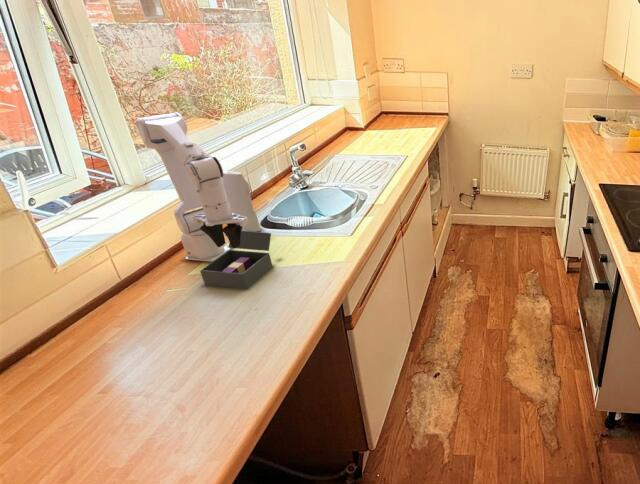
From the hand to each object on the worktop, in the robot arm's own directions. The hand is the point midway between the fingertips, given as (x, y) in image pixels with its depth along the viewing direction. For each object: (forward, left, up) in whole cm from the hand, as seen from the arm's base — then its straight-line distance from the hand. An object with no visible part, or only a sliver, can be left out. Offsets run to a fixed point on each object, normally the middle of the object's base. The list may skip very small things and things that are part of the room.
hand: (229, 246), depth 111 cm
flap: (0, +7, -2) cm, 7 cm away
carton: (0, 0, -10) cm, 10 cm away
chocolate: (0, 0, -10) cm, 10 cm away
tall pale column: (-17, +26, -11) cm, 32 cm away
